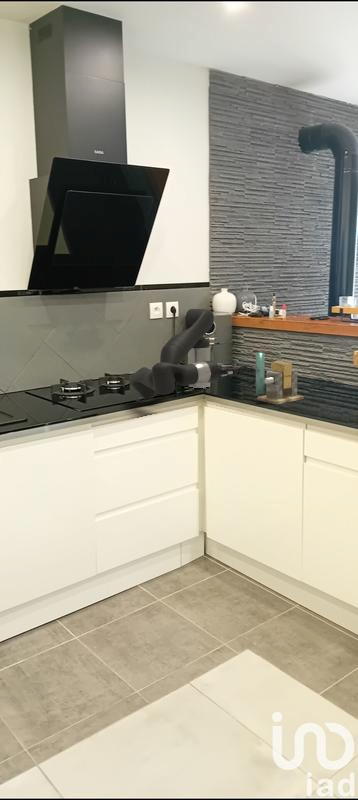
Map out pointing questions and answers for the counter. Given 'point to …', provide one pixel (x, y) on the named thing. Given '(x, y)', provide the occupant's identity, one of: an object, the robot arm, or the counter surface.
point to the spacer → (283, 372)
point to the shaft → (261, 374)
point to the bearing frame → (280, 389)
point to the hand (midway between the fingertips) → (238, 367)
